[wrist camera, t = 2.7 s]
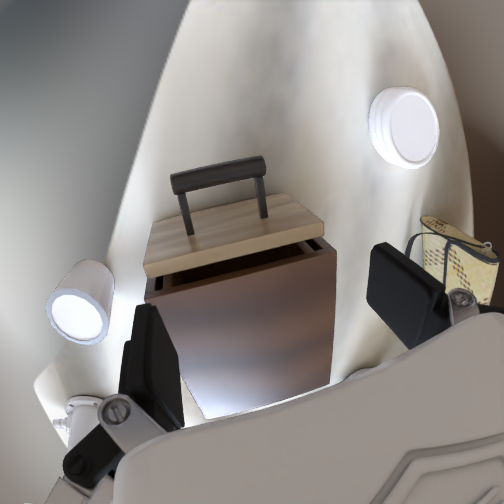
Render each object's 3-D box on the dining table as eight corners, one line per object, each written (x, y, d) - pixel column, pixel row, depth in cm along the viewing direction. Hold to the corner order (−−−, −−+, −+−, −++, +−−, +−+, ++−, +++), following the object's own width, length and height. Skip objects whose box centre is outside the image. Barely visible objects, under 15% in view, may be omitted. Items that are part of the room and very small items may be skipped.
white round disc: (354, 100, 26) (373, 99, 23) (409, 79, 26) (428, 79, 23) (380, 176, 31) (399, 183, 28) (429, 148, 31) (447, 152, 27)
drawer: (139, 173, 24) (120, 197, 16) (278, 144, 26) (319, 154, 18) (194, 342, 34) (202, 398, 26) (295, 315, 36) (323, 363, 28)
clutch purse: (393, 221, 34) (476, 274, 21) (426, 202, 34) (506, 244, 21) (400, 346, 49) (442, 395, 36) (425, 328, 49) (468, 373, 36)
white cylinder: (79, 309, 29) (64, 348, 23) (57, 260, 26) (34, 294, 19) (127, 300, 30) (119, 341, 24) (109, 248, 27) (92, 283, 21)
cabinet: (153, 240, 28) (143, 299, 18) (288, 208, 30) (336, 250, 21) (196, 355, 36) (206, 419, 27) (298, 328, 38) (329, 383, 29)
